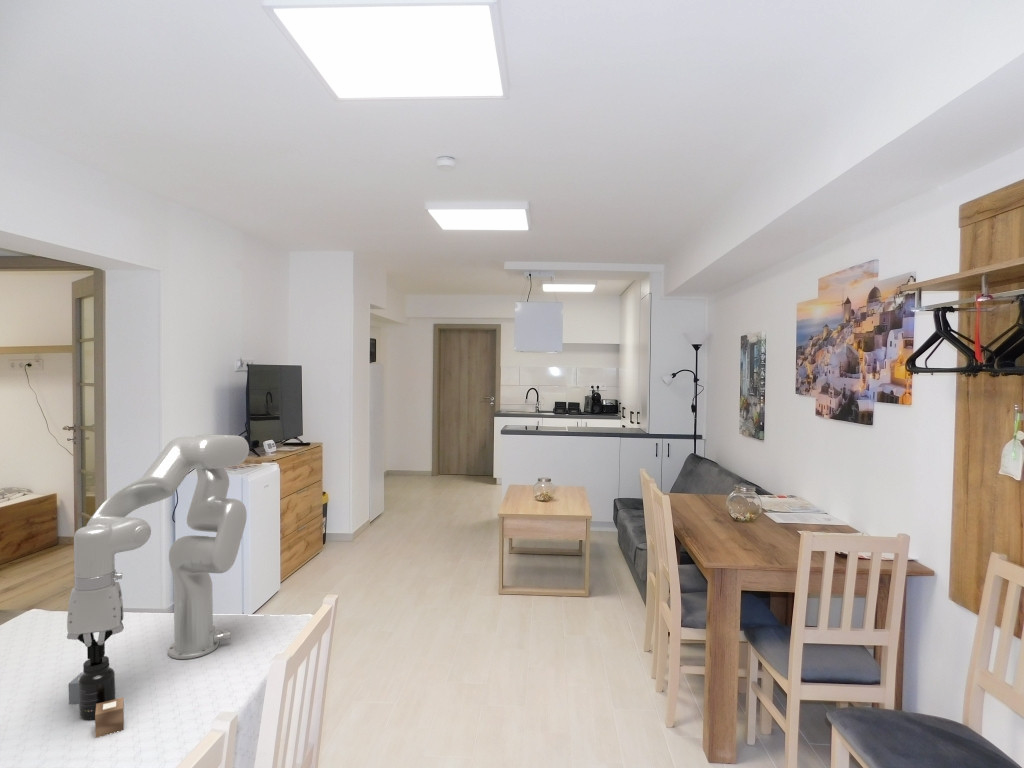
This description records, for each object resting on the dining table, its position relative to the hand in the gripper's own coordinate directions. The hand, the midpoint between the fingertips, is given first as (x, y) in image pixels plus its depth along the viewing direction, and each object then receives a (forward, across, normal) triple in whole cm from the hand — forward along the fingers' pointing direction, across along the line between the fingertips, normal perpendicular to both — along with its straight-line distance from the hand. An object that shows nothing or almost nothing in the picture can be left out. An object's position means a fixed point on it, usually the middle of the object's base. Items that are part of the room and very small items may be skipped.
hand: (96, 660), depth 137 cm
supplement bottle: (+12, 0, 0) cm, 12 cm away
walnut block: (+12, -4, +8) cm, 15 cm away
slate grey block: (+12, +4, -8) cm, 15 cm away
